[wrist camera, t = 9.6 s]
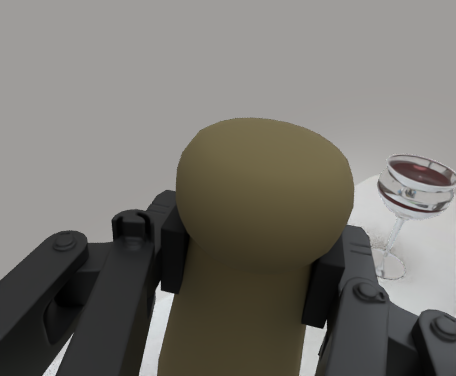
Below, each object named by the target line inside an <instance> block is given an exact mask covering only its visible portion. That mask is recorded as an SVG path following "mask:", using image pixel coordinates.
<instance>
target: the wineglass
mask: <svg viewBox="0 0 456 376" xmlns="http://www.w3.org/2000/svg"><path fill="white" fill-rule="evenodd" d="M386 163H387V168H386V169H385V170H383V171H382V173H381V174H380V177H379V179H378V184H377V187H378V193H379V196H380V198H381V200H382V201H383V203H384V204H385V206H386V207H387V208H388V209H389V210H390V211H391V212H393V213H394V214H395V216H396V217H397V219H396V222H395V225H394V227H393V230H392V233H391V235H390V238H389V241H388V244H387V246H386V249H385V250H382V249H378V248H371V250H372V256H373V260H374V264H375V269H376V274H377V276H380V277H383V278H388V279H398V278H400V277H402V276H403V275H404V274H405V267H404V264H403V263H402V262H401V260H400V259H399V258H397V257H396V256H395V255H393V254H392V253H390V252H389V251H390V249H391V247H392V245H393V243H394V241H395V239H396V237H397V235H398V233H399V231H400V229H401V227H402V225H403V223H404V221H405V220H409V219H411V220H424V219H428V218H432V217H435V216H438V215H440V214H441V213H442V212H444V211H445V210H446V209H447V207H448V206H449V205H450V203H451V202H452V201H453V197H454V192H453V189H454V188H456V172H455V171H454V170H452V169H451V168H449V167H448V166H446V165H444V164H442V163H440V162H437V161H435V160H432V159H429V158H426V157H422V156H418V155H411V154H394V155H391V156H389V157H388V158H387V160H386Z"/></svg>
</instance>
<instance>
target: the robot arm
mask: <svg viewBox="0 0 456 376" xmlns="http://www.w3.org/2000/svg"><path fill="white" fill-rule="evenodd" d="M112 231H113V242H108V243H88V242H87V237H86V236H85V235H84V234H83V233H80V232H78V231H70V230H69V231H61V232H58V233H56V234H53V235H52V236H50V237H48V238H47V239H46V240H44V242H42V243H41V244H40V245H39V246H38V247H37V248H36V249H35V250H34V251H32V252H31V253H30V254H29V255H28V256H27V257H26V258H25V259H23V261H21V262H20V263H19V264H18V265H17V266H16V267H15V268H14V269H13V270H12V271H10V272H9V273H8V274H7V275H6V276H5V277H4V278H3V279H1V280H0V376H42V375H43V374H44V372H45V371H46V370H47V368H48V367H49V366H50V364H51V363H52V362H53V360H54V359H55V357H56V356H57V355H58V353H59V352H60V351H61V349H62V348H63V346H64V345H65V344H66V342H67V341H68V339H69V338H70V337H71V335H72V334H73V336H72V338H71V340H70V343H69V345H68V348H67V350H66V352H65V354H64V357H63V359H62V361H61V364H60V366H59V368H58V371H57V373H56V375H55V376H139V371H140V367H141V363H142V358H143V354H144V349H145V345H146V340H147V336H148V331H149V327H150V322H151V318H152V314H153V309H154V305H155V298H156V296H155V290H156V288H157V286H158V284H159V282H160V281H161V291H165V292H170V293H174V294H178V295H179V292H180V288H181V285H182V281H183V272H184V265H185V259H186V254H187V248H188V242H189V237H190V235H189V234H188V233H187V231H186V228H185V226H184V224H183V222H182V220H181V218H180V215H179V212H178V208H177V204H176V191H171V190H165V191H164V192H162V193H161V194H159V195H157V196H156V198H155V199H154V201H153V202H152V204H150V206H149V207H148V209H147V210H146V211H143V210H138V209H135V210H126V211H122V212H120V213H118V214H117V215H115V216H114V217H113V219H112ZM326 320H327V332H326V335H325V337H324V340H323V343H322V345H321V348H320V351H319V353H318V355H319V361H318V365H317V369H316V373H315V376H456V318H454V317H452V316H451V315H449V314H447V313H445V312H442V311H439V310H429V309H428V310H425V311H423V312H421V314H420V316H417V315H415V314H413V313H410V312H408V311H406V310H404V309H402V308H400V307H398V306H396V305H395V304H393V303H392V302H391V301H390V300H389V295H388V294H387V292H386V291H385V290H384V288H382V287H381V286H380V285H379V284H378V279H377V274H376V269H375V264H374V260H373V256H372V250H371V245H370V240H369V237H368V235H367V234H366V233H365V231H364V230H363V229H362V228H361V227H356V226H351V225H346V226H345V228H344V230H343V232H342V233H341V235H340V237H339V238H338V240H337V241H336V242H335V244H334V245H333V246H332V248H331V249H330V250H329V252H327V253H326V254H324V255H323V256H321V257H320V258H318V259H316V260H315V261H314V266H313V270H312V275H311V279H310V283H309V288H308V292H307V296H306V301H305V305H304V310H303V314H302V318H301V324H304V325H308V326H313V327H317V328H321V329H323V328H324V325H325V322H326Z"/></svg>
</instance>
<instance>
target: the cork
mask: <svg viewBox="0 0 456 376" xmlns="http://www.w3.org/2000/svg"><path fill="white" fill-rule="evenodd" d="M353 203H354V183H353V177H352V173H351V169H350V167H349V163H348V160H347V159H346V157H345V156H344V155H343V154H342V152H341V151H340V150H339V149H338V148H337V147H336V146H335V145H333V144H332V143H331V142H330V141H328V140H327V139H325V138H324V137H322V136H321V135H320V134H317V133H315V132H313V131H311V130H308V129H306V128H304V127H300V126H297V125H294V124H291V123H287V122H282V121H276V120H271V119H262V118H235V119H230V120H225V121H220V122H218V123H215V124H213V125H210V126H208V127H206V128H204V129H202V130H200V131H199V132H198V134H197V135H196V136H195V137H194V138H193V139H192V141H191V142H190V143H189V145H188V146H187V147H186V148H185V150H184V151H183V152H182V155H181V158H180V161H179V164H178V167H177V177H176V204H177V208H178V212H179V215H180V218H181V220H182V222H183V224H184V226H185V228H186V231H187V233H188V234H189V235H190V237H189V242H188V248H187V254H186V259H185V265H184V272H183V281H182V285H181V288H180V292H179V295H178V294H174V298H173V302H172V307H171V311H170V315H169V319H168V323H167V327H166V331H165V335H164V339H163V344H162V348H161V352H160V356H159V361H158V372H157V376H299V372H300V365H301V358H302V351H303V344H304V337H305V330H306V325H304V324H301V318H302V314H303V310H304V305H305V301H306V296H307V292H308V288H309V283H310V279H311V275H312V270H313V266H314V261H315V260H316V259H318V258H320V257H321V256H323V255H324V254H326V253H327V252H329V250H330V249H331V248H332V246H333V245H334V244H335V242H336V241H337V240H338V238H339V237H340V235H341V233H342V232H343V230H344V228H345V226H346V224H347V222H348V219H349V217H350V214H351V212H352V209H353Z"/></svg>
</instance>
